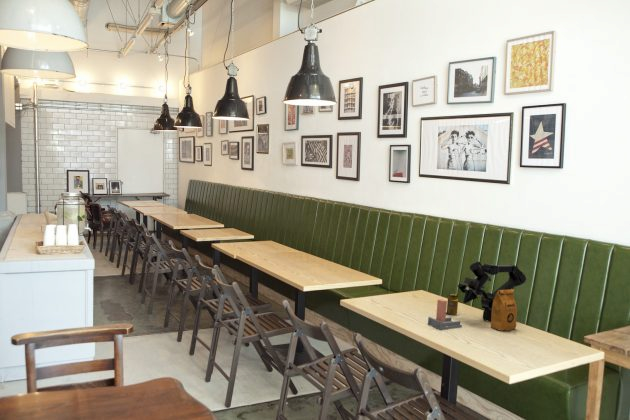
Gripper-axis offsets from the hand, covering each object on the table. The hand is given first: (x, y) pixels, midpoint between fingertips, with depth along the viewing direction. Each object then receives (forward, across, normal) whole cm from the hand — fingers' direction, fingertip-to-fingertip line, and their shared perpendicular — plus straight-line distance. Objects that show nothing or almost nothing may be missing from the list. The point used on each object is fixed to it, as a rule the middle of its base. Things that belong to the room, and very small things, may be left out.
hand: (463, 302), depth 296 cm
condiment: (+4, -17, +14) cm, 22 cm away
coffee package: (-2, +15, +20) cm, 25 cm away
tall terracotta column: (+19, 0, -4) cm, 19 cm away
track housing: (+18, 0, -1) cm, 18 cm away
